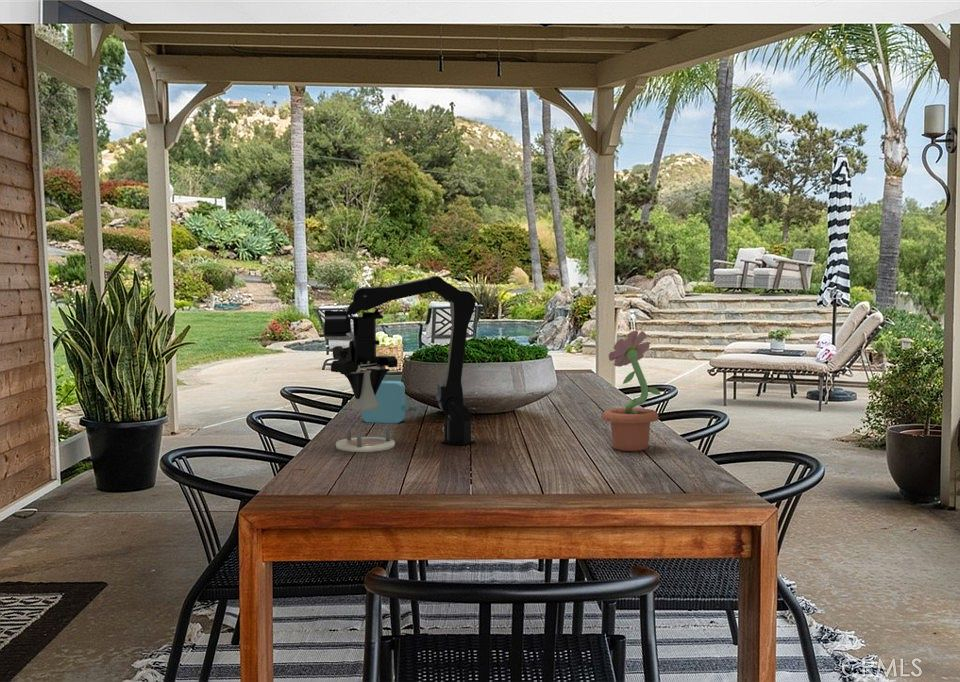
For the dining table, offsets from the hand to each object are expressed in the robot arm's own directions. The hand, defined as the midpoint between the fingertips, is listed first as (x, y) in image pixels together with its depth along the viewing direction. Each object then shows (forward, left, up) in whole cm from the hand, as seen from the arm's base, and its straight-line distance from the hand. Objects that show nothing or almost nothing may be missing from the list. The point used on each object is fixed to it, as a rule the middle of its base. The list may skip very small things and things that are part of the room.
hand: (365, 397), depth 233 cm
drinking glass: (+34, -48, -13) cm, 60 cm away
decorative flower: (-56, -38, -13) cm, 69 cm away
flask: (0, 0, -3) cm, 3 cm away
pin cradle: (0, 0, -12) cm, 13 cm away
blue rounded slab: (+22, -30, -13) cm, 39 cm away
